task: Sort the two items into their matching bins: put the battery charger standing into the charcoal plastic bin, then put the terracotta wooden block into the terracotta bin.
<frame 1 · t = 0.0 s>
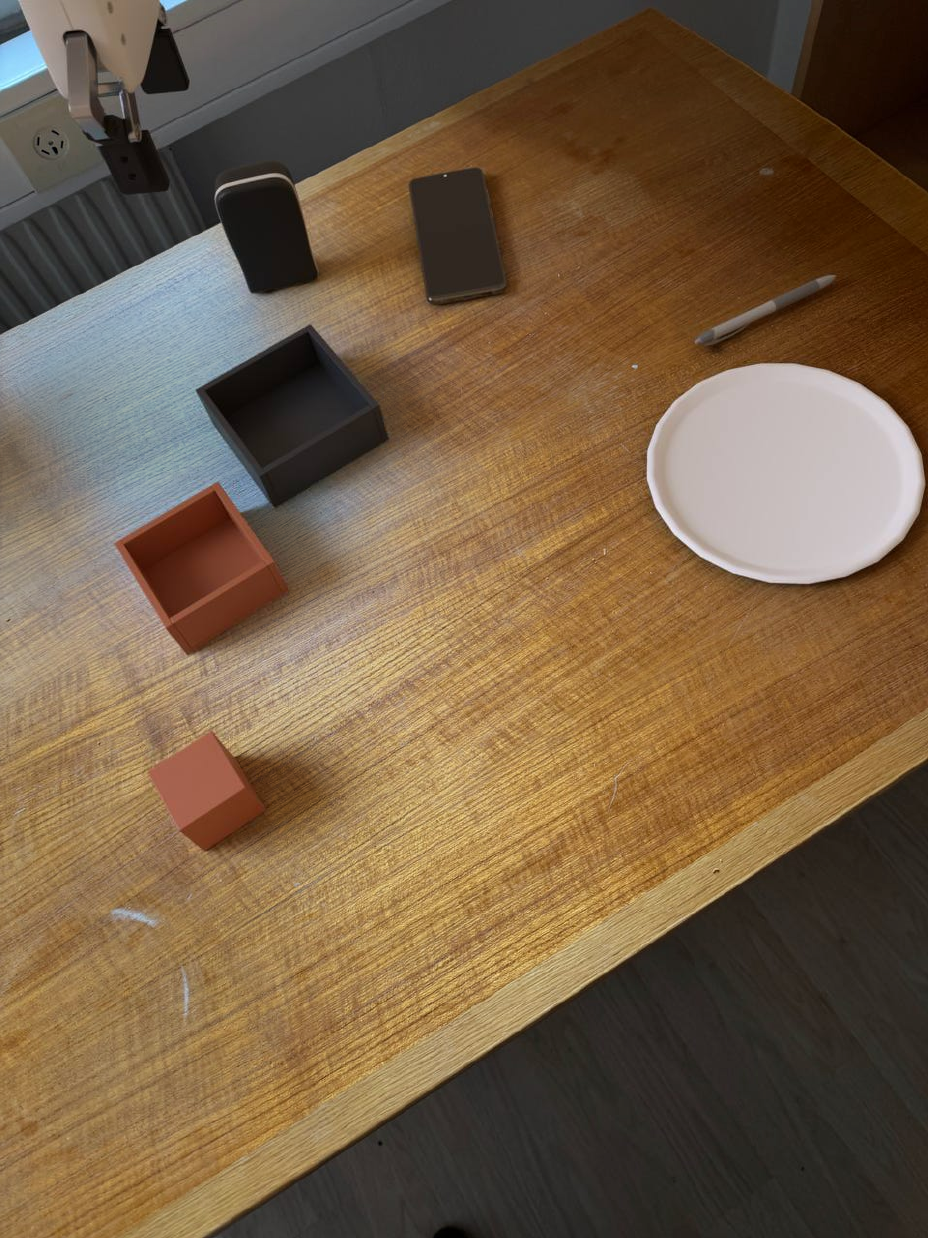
hand: (157, 138, 68), 26 cm above the table, tool pointing down, fingers open, 9 cm apart
clay block: (219, 802, 73), on the table
smartphone: (457, 240, 97), on the table
dark bin: (299, 431, 88), on the table
pen: (764, 318, 89), on the table
plate: (780, 475, 81), on the table
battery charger: (283, 276, 97), on the table
clay bin: (211, 581, 82), on the table
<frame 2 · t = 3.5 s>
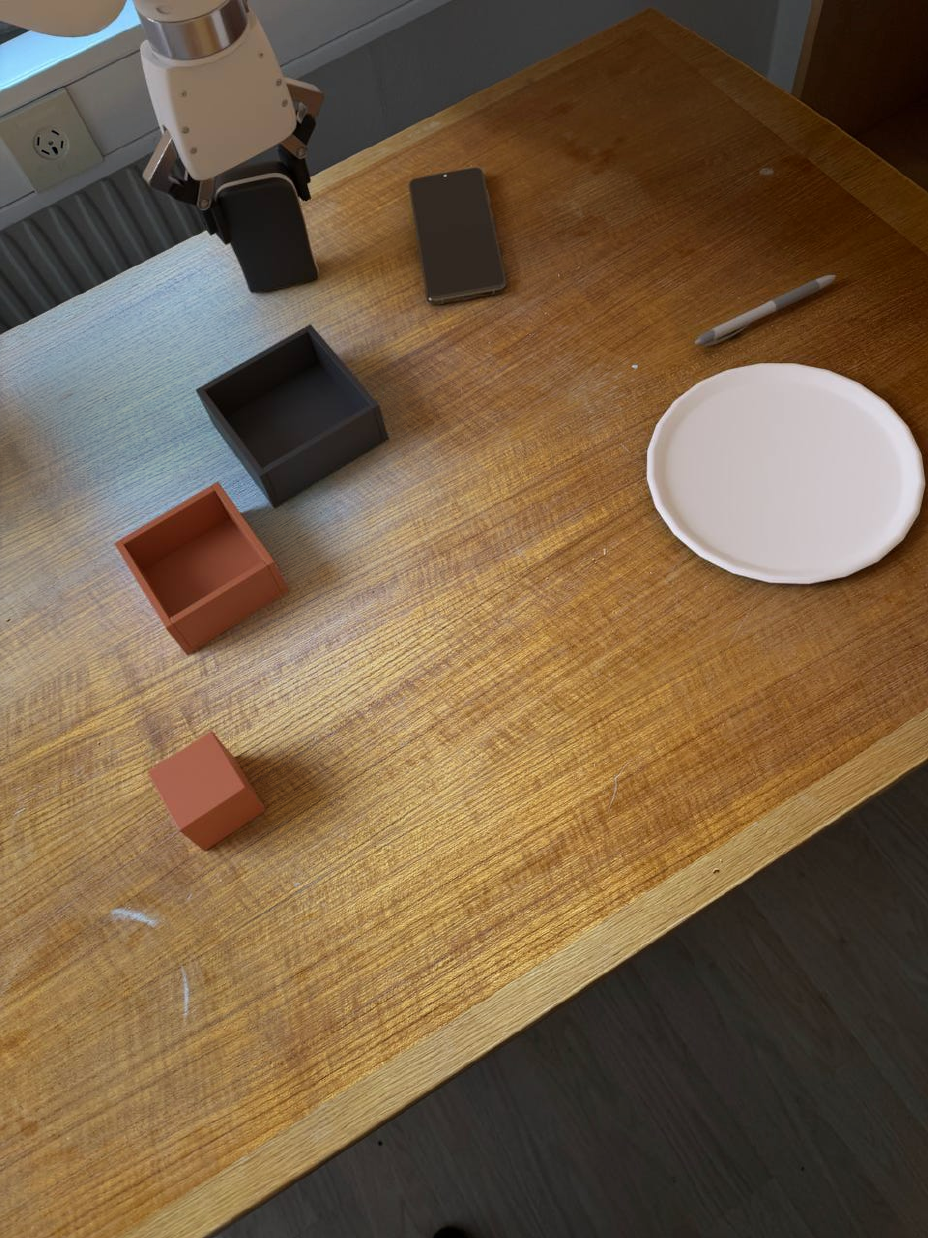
hand: (260, 212, 91), 7 cm above the table, tool pointing down, fingers closed on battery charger, 7 cm apart
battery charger: (283, 276, 97), on the table, touching gripper
everything else where it was.
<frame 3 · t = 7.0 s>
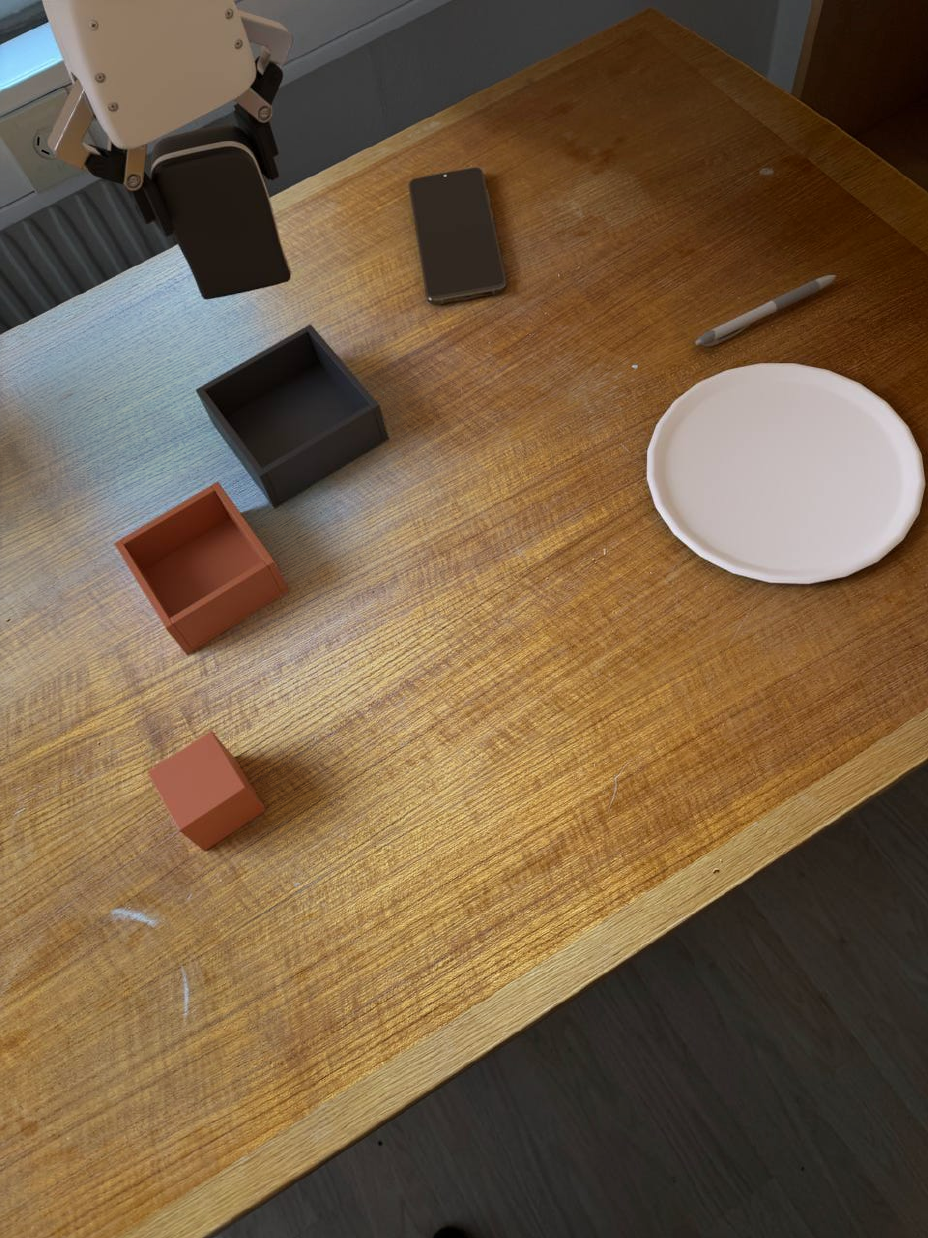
hand: (212, 194, 69), 23 cm above the table, tool pointing down, fingers closed on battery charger, 7 cm apart
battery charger: (246, 277, 76), point 15 cm above the table, touching gripper
everything else where it was.
when the fingers open (8 cm above the table, at t = 11.0 s): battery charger stays where it is, resting on dark bin.
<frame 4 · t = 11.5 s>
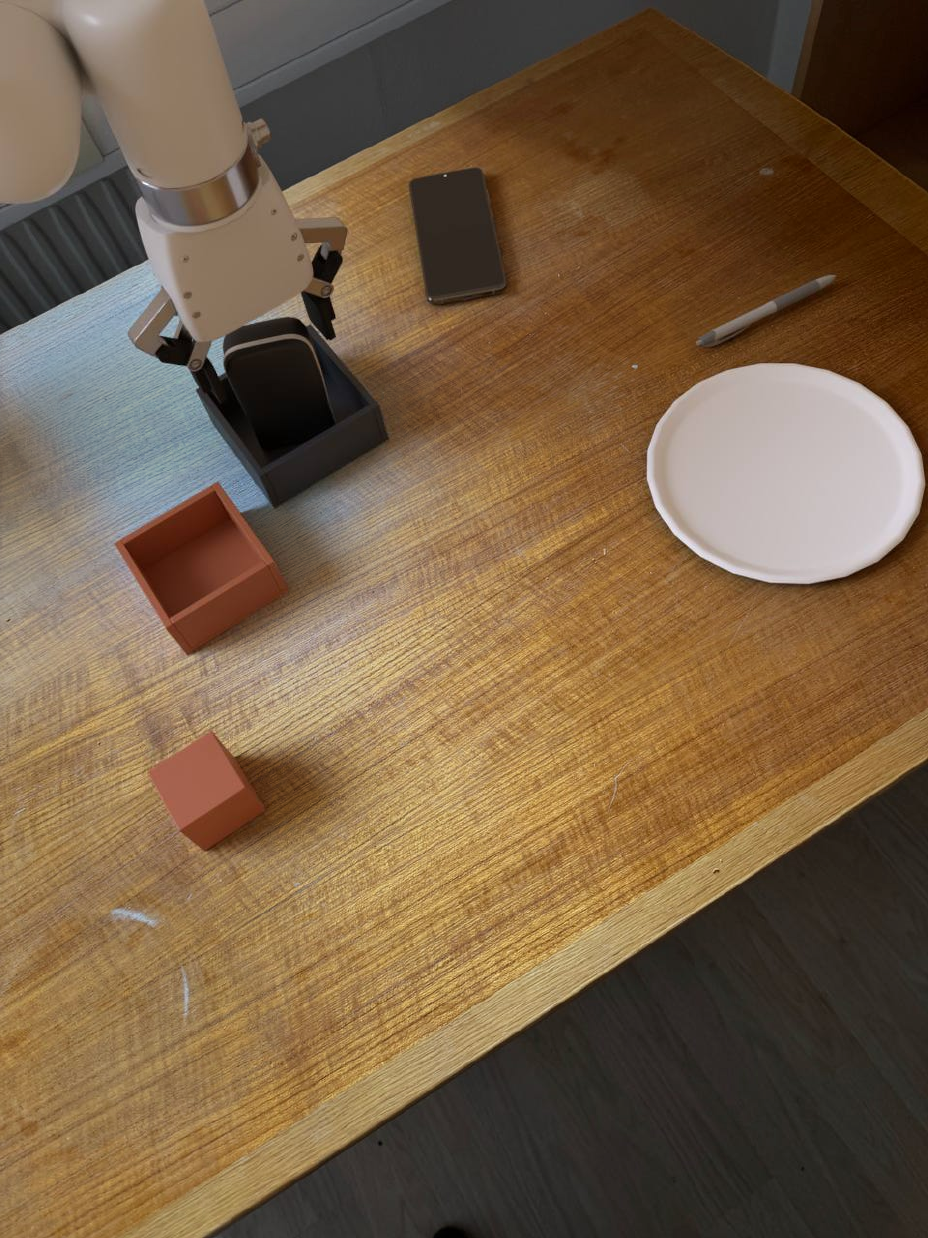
hand: (270, 359, 80), 9 cm above the table, tool pointing down, fingers open, 9 cm apart
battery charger: (298, 428, 88), resting on dark bin
everything else where it was.
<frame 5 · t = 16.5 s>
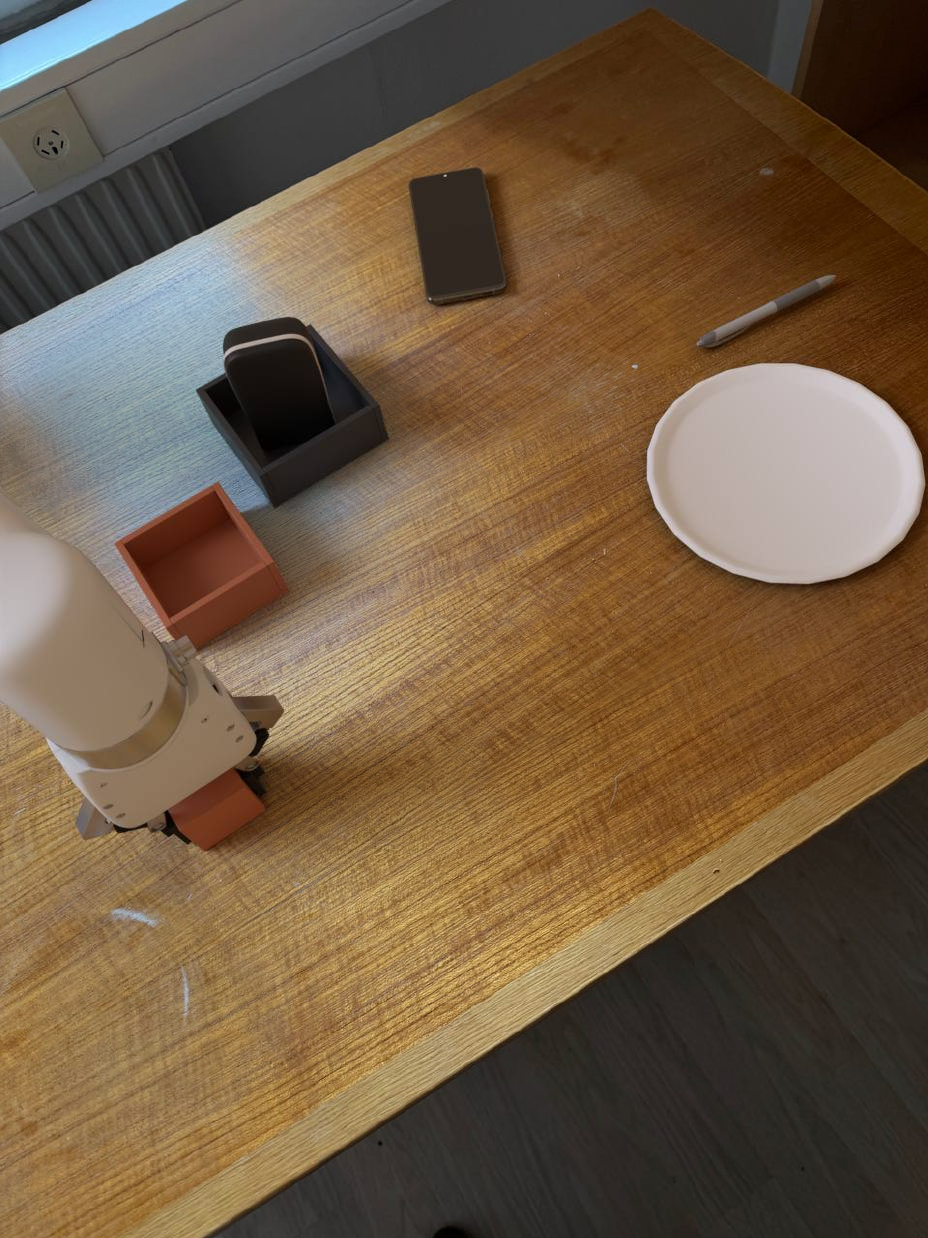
hand: (217, 801, 73), 0 cm above the table, tool pointing down, fingers closed on clay block, 5 cm apart
clay block: (219, 803, 73), on the table, touching gripper
everything else where it was.
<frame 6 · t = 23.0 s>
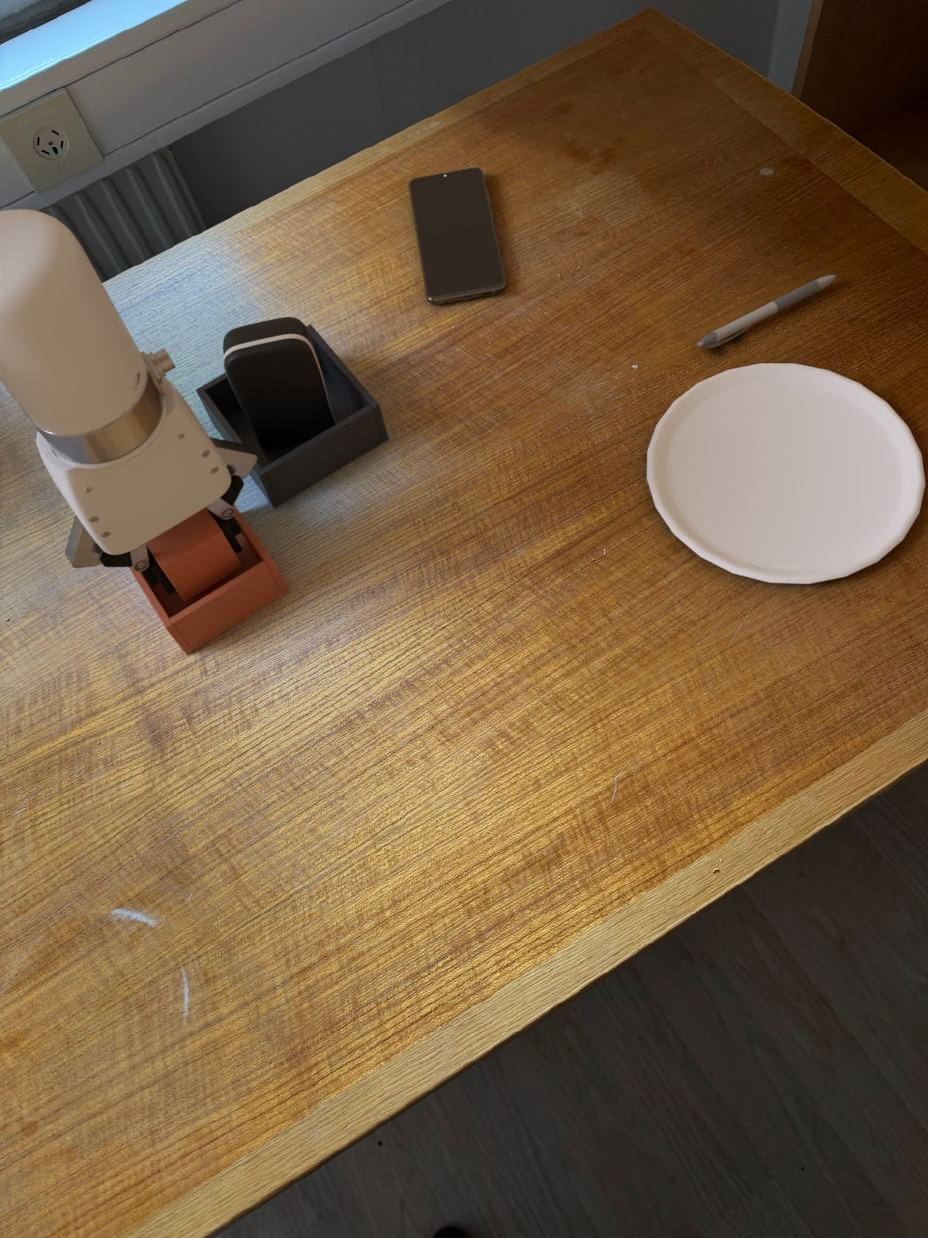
hand: (197, 558, 79), 4 cm above the table, tool pointing down, fingers closed on clay block, 5 cm apart
clay block: (199, 561, 79), point 3 cm above the table, touching gripper
everything else where it was.
when the fingers open (5 cm above the table, at t = 32.6 s): clay block drops 4 cm, resting on clay bin.
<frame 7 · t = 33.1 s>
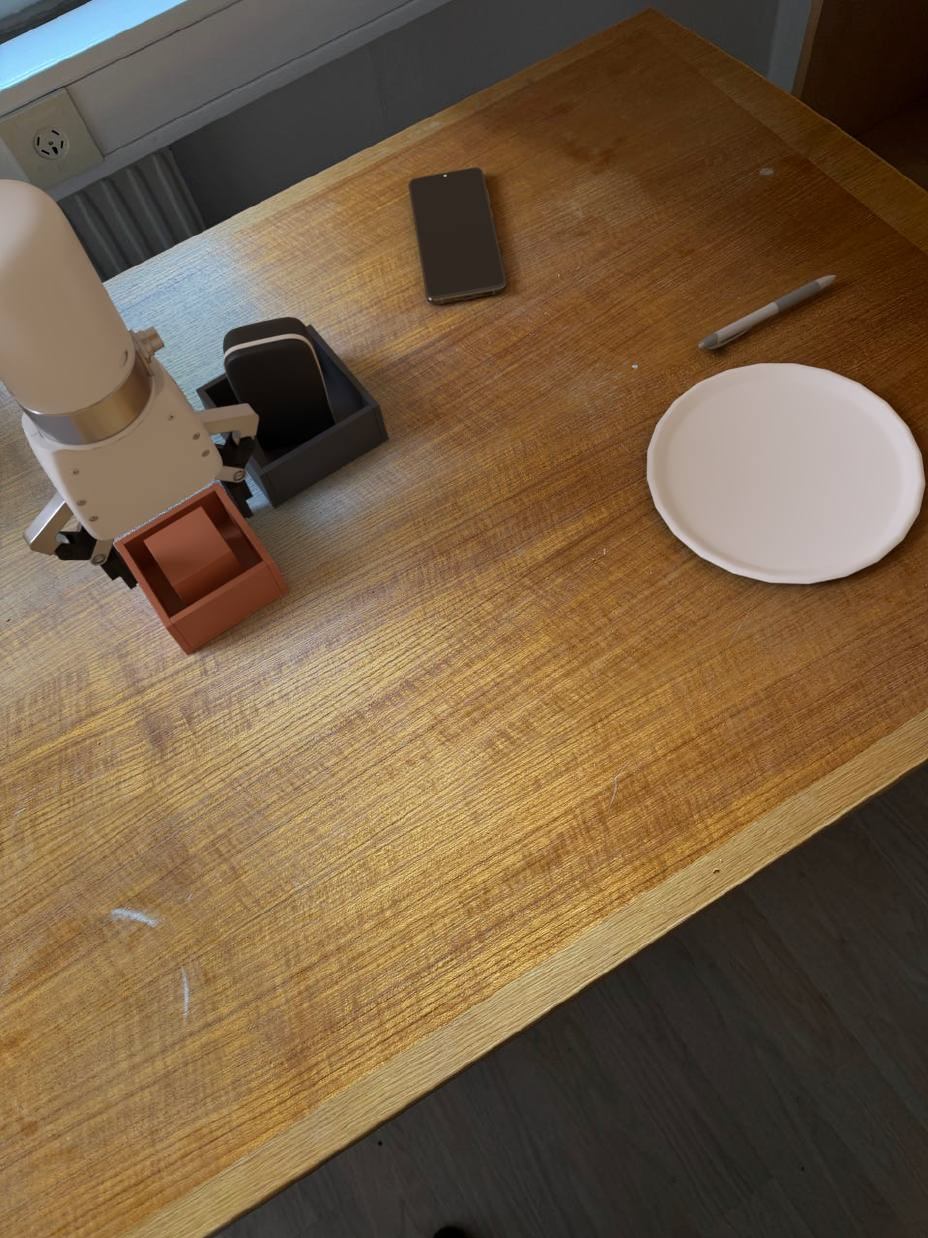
hand: (184, 539, 76), 6 cm above the table, tool pointing down, fingers open, 9 cm apart
clay block: (208, 578, 81), resting on clay bin
everything else where it was.
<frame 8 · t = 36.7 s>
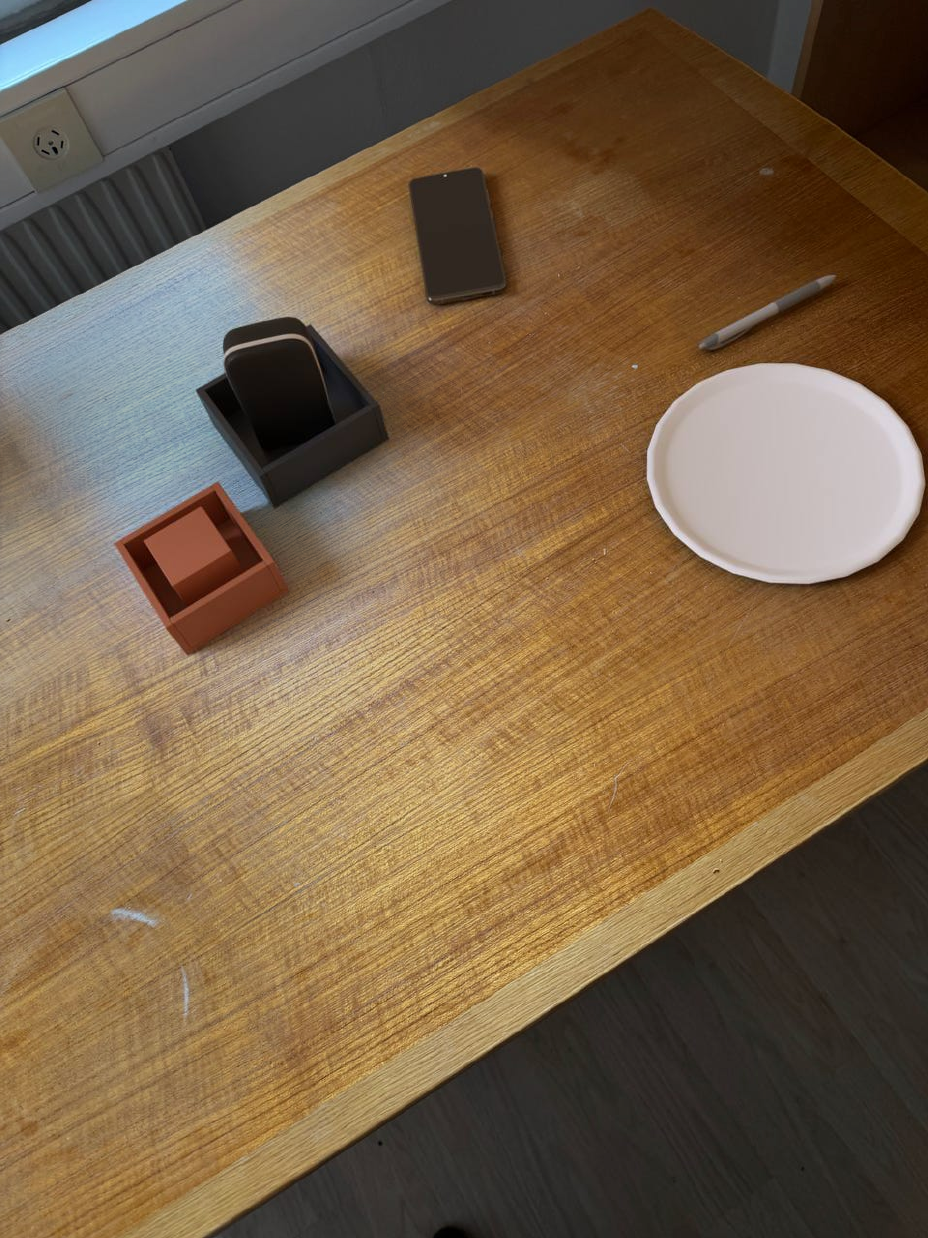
nothing on the table moved.
at the end: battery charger inside the target area in the dark bin (0.0 cm from its centre), point 0.3 cm above the dark bin's base; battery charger tilted 0°; clay block inside the target area in the clay bin (0.1 cm from its centre), point 0.5 cm above the clay bin's base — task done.
